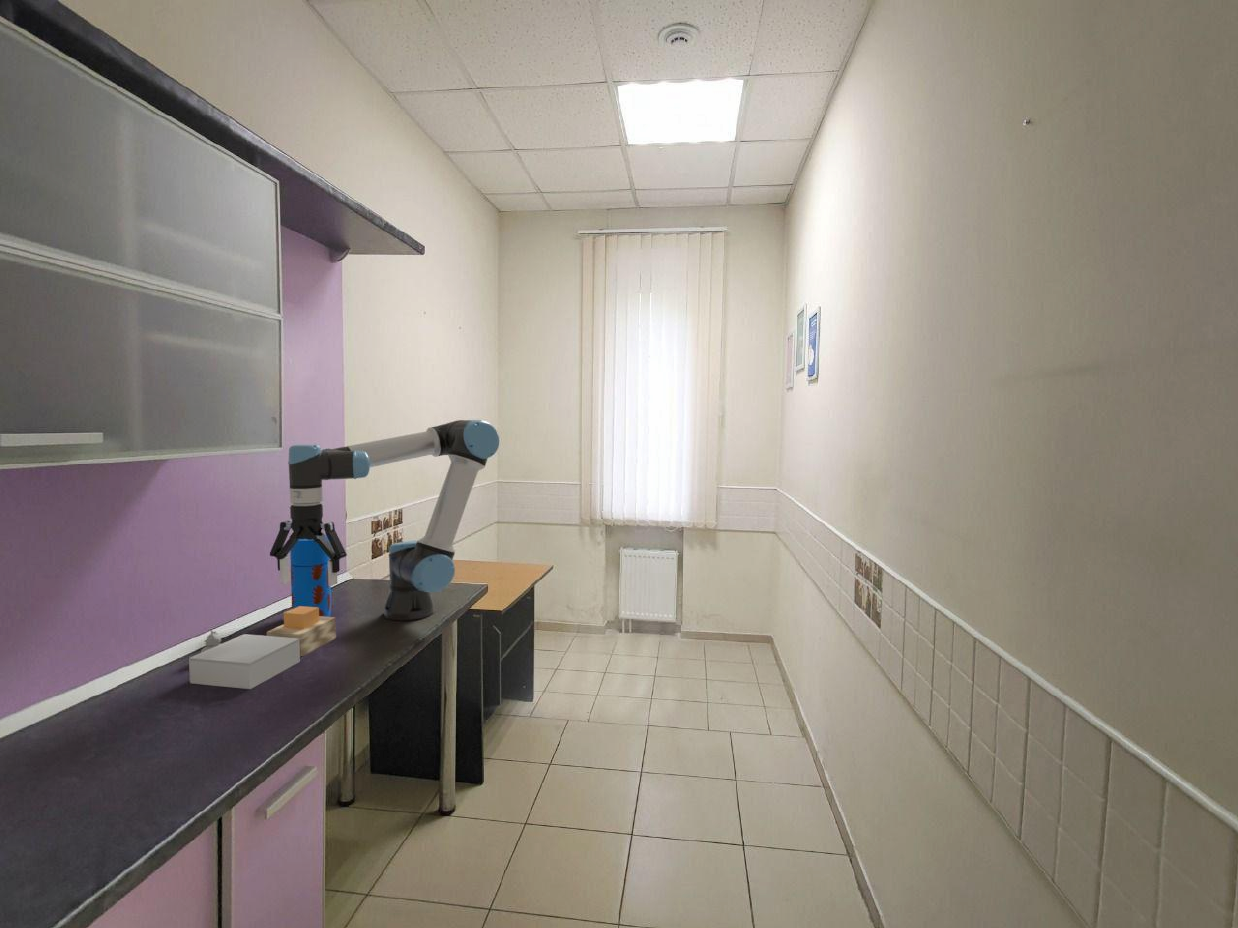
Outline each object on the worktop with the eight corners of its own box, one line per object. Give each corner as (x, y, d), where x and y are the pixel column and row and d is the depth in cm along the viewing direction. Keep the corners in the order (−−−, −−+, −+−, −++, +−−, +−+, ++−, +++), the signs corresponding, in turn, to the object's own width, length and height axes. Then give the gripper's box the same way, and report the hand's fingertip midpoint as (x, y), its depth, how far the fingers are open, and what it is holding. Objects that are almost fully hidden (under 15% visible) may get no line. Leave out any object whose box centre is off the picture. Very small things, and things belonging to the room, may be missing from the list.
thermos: (288, 615, 187) (286, 536, 185) (325, 608, 194) (323, 532, 192) (297, 624, 178) (294, 542, 177) (335, 617, 185) (333, 537, 184)
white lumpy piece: (207, 656, 154) (206, 625, 154) (235, 654, 155) (234, 624, 154) (196, 664, 149) (194, 633, 148) (224, 663, 150) (223, 632, 149)
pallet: (304, 635, 170) (303, 615, 169) (335, 638, 168) (335, 617, 168) (267, 654, 156) (266, 631, 156) (301, 657, 154) (300, 634, 154)
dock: (244, 656, 154) (244, 634, 153) (299, 661, 151) (299, 638, 150) (190, 683, 138) (188, 657, 138) (250, 689, 135) (249, 663, 135)
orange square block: (299, 620, 165) (299, 606, 165) (319, 621, 164) (318, 607, 164) (284, 627, 159) (283, 612, 159) (304, 629, 158) (303, 614, 158)
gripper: (252, 504, 153) (255, 585, 155) (342, 506, 150) (344, 589, 152) (272, 500, 161) (275, 578, 162) (359, 502, 158) (361, 581, 159)
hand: (309, 583), depth 157 cm, fingers open, 13 cm apart
